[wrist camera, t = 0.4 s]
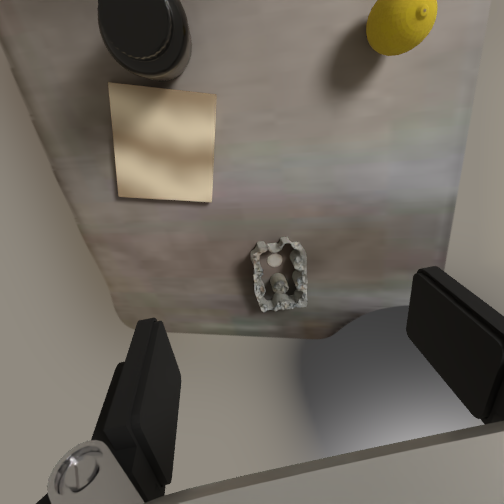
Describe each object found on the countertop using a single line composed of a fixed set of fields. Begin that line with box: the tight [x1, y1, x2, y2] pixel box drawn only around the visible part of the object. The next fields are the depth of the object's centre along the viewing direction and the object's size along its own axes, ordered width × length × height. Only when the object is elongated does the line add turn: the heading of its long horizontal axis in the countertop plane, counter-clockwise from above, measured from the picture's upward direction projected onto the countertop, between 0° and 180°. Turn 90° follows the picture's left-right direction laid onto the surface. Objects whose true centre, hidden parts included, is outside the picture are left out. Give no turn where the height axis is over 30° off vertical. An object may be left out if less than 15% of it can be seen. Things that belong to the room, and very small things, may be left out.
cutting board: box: [108, 82, 216, 202], centre depth 35 cm, size 12×11×1 cm
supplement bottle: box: [98, 0, 192, 81], centre depth 26 cm, size 7×7×12 cm
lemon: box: [366, 0, 437, 56], centre depth 29 cm, size 6×6×8 cm
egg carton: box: [251, 237, 307, 312], centre depth 43 cm, size 11×8×4 cm
